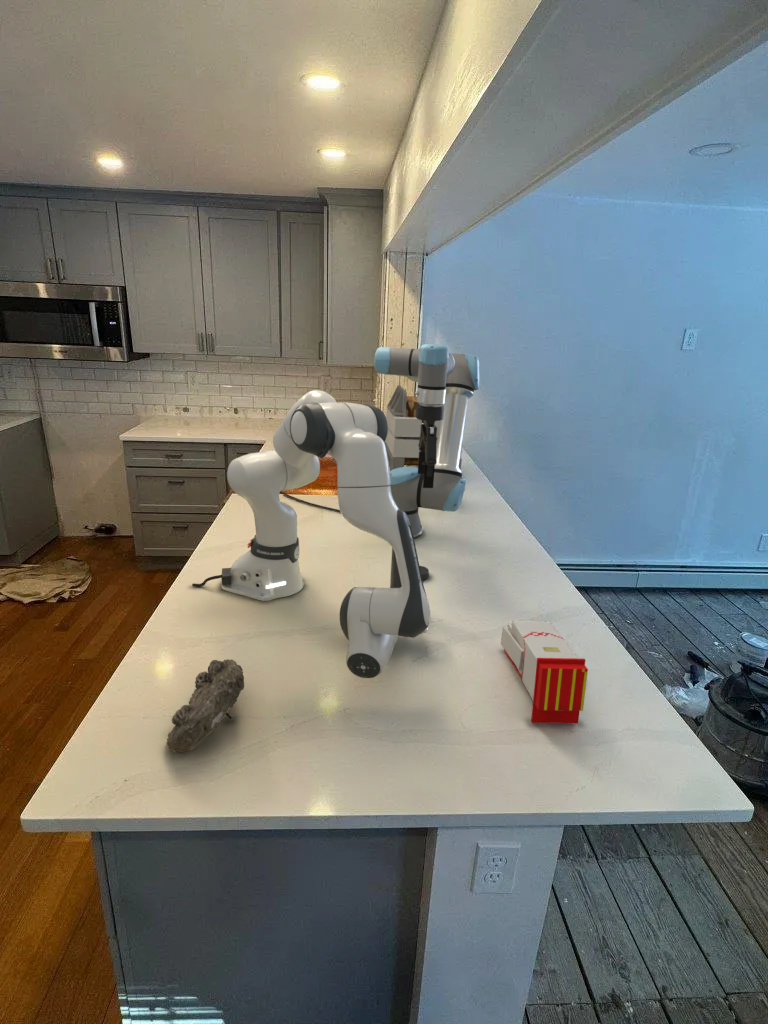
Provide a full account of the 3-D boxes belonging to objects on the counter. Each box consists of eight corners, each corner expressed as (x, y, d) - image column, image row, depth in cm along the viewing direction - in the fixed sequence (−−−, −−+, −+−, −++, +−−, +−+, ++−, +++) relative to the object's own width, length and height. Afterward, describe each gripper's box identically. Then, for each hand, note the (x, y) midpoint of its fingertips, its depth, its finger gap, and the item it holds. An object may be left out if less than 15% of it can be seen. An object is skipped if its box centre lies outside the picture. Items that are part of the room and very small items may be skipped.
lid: (421, 570, 173) (422, 564, 172) (432, 578, 168) (432, 572, 167) (404, 573, 170) (404, 567, 169) (414, 582, 165) (414, 575, 164)
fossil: (192, 660, 117) (244, 628, 112) (224, 691, 120) (276, 661, 115) (142, 746, 98) (202, 712, 93) (182, 779, 101) (242, 748, 96)
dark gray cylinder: (391, 609, 150) (394, 542, 143) (387, 600, 154) (391, 534, 148) (410, 608, 150) (414, 542, 144) (406, 599, 155) (410, 534, 149)
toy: (547, 606, 135) (596, 665, 106) (541, 658, 138) (589, 729, 108) (496, 604, 134) (532, 664, 105) (492, 657, 137) (526, 729, 108)
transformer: (382, 463, 289) (386, 382, 275) (445, 464, 293) (451, 384, 279) (390, 482, 257) (394, 392, 243) (460, 483, 261) (468, 394, 247)
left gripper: (426, 622, 126) (435, 594, 139) (338, 609, 130) (354, 582, 143) (425, 646, 128) (433, 616, 141) (338, 633, 132) (354, 605, 145)
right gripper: (412, 396, 163) (408, 468, 171) (421, 412, 140) (416, 493, 147) (438, 397, 164) (432, 468, 171) (451, 413, 140) (444, 494, 148)
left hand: (393, 599), depth 142 cm, fingers open, 8 cm apart
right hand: (425, 480), depth 159 cm, fingers open, 13 cm apart
